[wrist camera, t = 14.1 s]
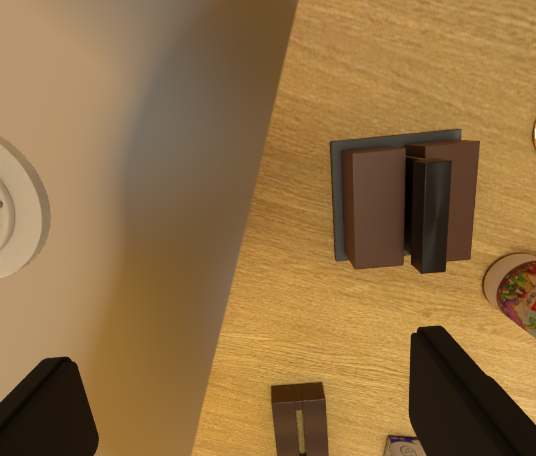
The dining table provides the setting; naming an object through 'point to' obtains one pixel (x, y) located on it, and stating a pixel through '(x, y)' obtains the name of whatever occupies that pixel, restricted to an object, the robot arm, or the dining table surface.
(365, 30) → the dining table surface
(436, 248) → the knife
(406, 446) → the box
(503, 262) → the milk bottle
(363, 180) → the brown blocks on tray
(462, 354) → the robot arm
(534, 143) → the wineglass
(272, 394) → the knife stand
